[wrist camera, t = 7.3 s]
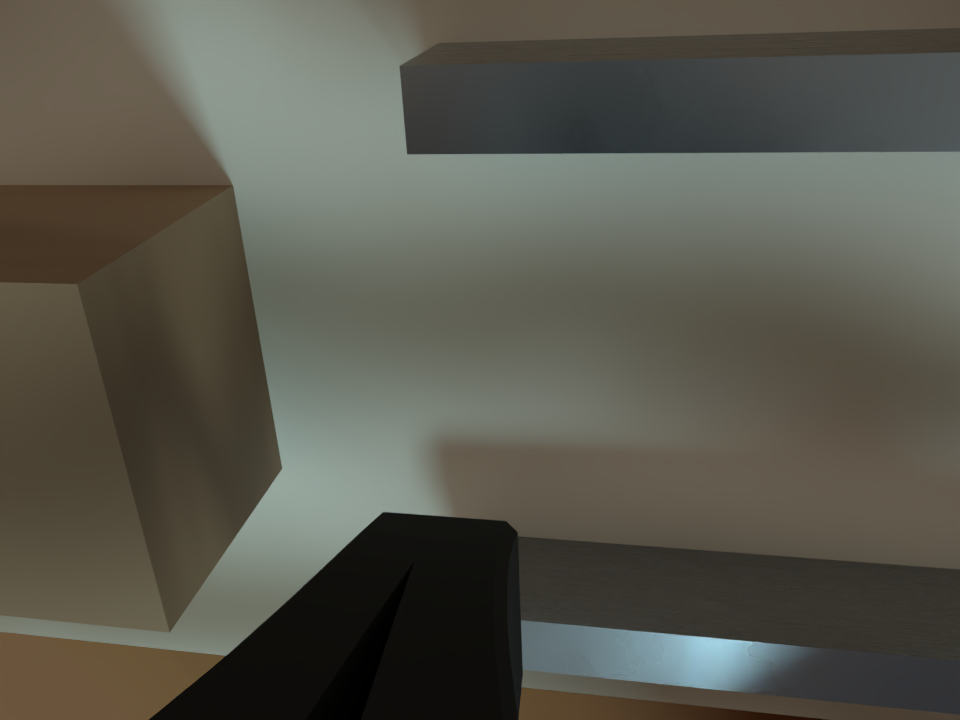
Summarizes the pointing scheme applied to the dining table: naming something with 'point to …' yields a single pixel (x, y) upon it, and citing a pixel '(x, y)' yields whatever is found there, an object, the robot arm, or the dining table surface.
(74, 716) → the dining table surface
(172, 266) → the walnut block
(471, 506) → the grey flat piece
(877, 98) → the grey metal bar
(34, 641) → the dining table surface
